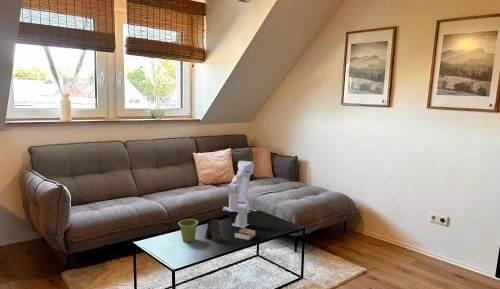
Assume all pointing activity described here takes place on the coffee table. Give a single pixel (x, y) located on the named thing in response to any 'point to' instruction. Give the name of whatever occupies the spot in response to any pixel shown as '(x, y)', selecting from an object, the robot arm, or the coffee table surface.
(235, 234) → the coupler channel
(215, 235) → the dark tent-shaped stand
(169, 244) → the coffee table surface
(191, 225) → the plant pot
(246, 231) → the block
